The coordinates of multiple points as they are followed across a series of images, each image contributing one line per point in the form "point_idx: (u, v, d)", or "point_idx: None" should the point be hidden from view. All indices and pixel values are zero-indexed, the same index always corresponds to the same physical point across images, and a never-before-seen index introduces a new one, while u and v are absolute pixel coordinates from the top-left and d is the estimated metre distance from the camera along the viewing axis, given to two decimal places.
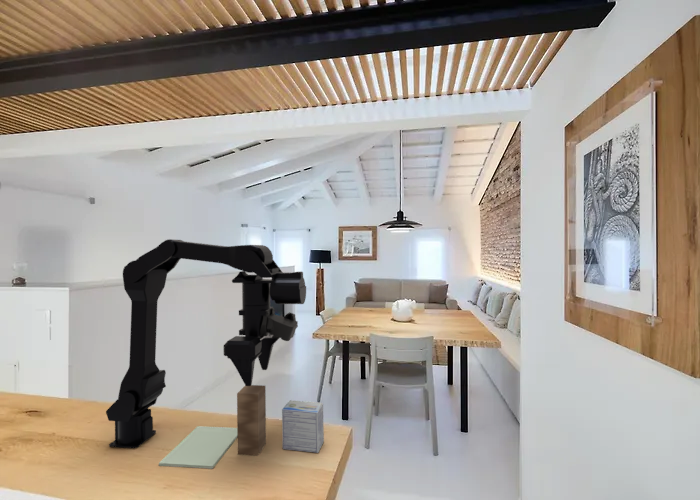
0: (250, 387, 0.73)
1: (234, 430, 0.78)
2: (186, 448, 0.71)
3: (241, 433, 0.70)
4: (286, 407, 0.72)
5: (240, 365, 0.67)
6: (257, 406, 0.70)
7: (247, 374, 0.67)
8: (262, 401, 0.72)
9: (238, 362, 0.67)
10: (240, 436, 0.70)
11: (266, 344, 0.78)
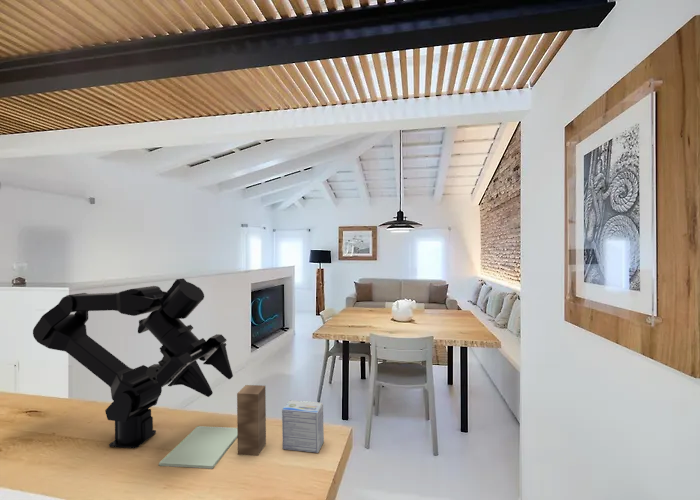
0: (250, 387, 0.73)
1: (234, 430, 0.78)
2: (186, 448, 0.71)
3: (241, 433, 0.70)
4: (286, 407, 0.72)
5: None
6: (257, 406, 0.70)
7: None
8: (262, 401, 0.72)
9: None
10: (240, 436, 0.70)
11: None
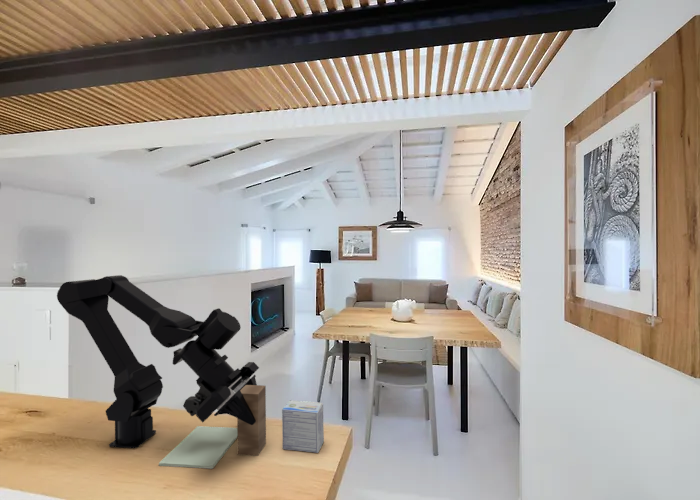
0: (250, 387, 0.73)
1: (234, 430, 0.78)
2: (186, 448, 0.71)
3: (242, 433, 0.70)
4: (286, 407, 0.72)
5: None
6: (257, 406, 0.70)
7: None
8: (262, 401, 0.72)
9: None
10: (240, 436, 0.70)
11: None
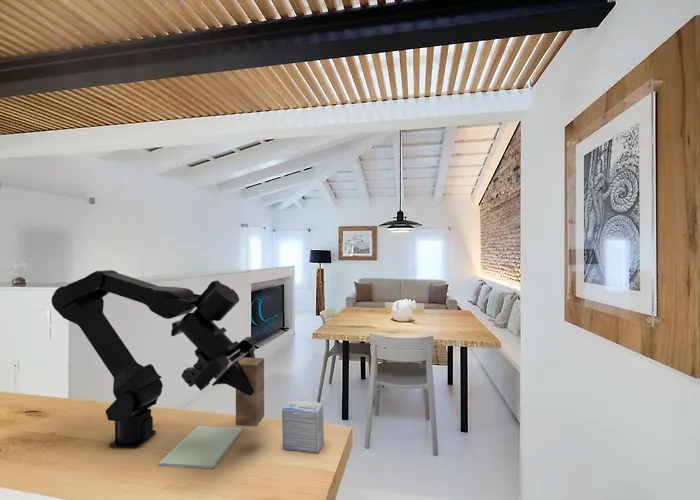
0: (249, 359, 0.73)
1: (234, 430, 0.78)
2: (186, 448, 0.71)
3: (240, 404, 0.70)
4: (286, 407, 0.72)
5: None
6: (255, 377, 0.70)
7: None
8: (260, 373, 0.72)
9: None
10: (239, 407, 0.70)
11: None
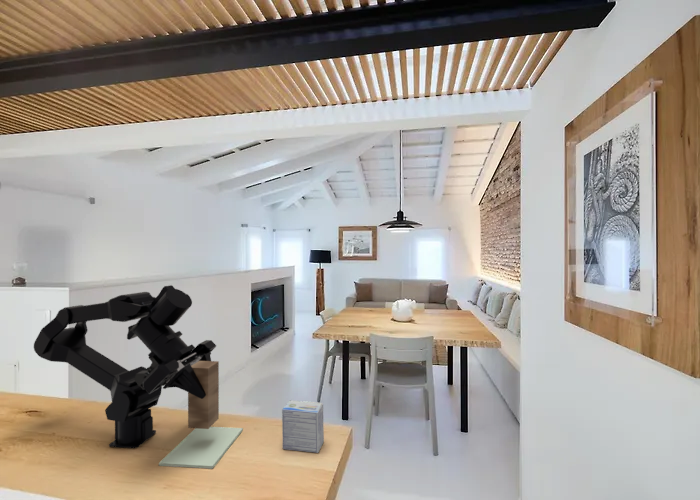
0: (203, 362, 0.74)
1: (234, 430, 0.78)
2: (186, 448, 0.71)
3: (192, 407, 0.71)
4: (286, 407, 0.72)
5: None
6: (207, 380, 0.71)
7: None
8: (214, 376, 0.73)
9: None
10: (191, 409, 0.71)
11: None
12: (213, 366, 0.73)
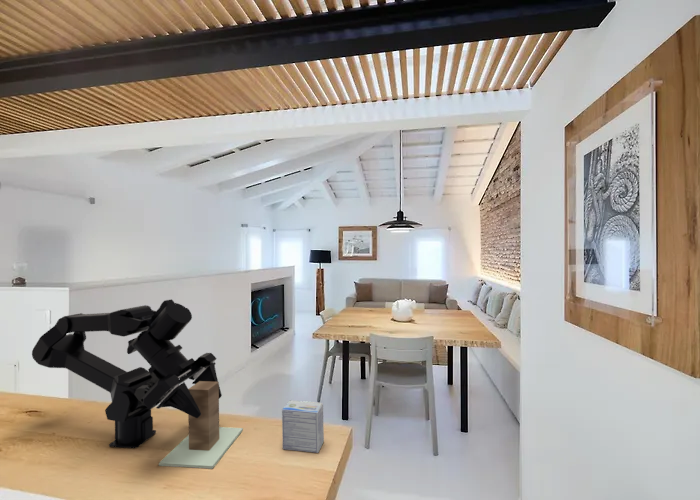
0: (203, 383, 0.74)
1: (234, 430, 0.78)
2: (186, 448, 0.71)
3: (192, 429, 0.71)
4: (286, 407, 0.72)
5: None
6: (207, 402, 0.71)
7: None
8: (214, 397, 0.73)
9: None
10: (191, 431, 0.71)
11: None
12: (213, 387, 0.73)
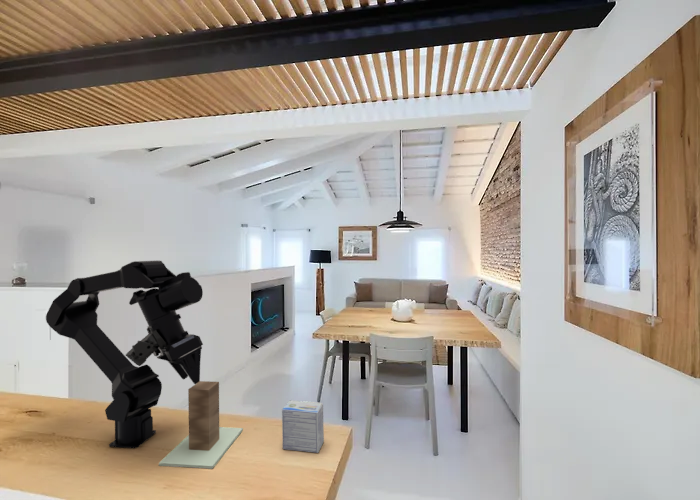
0: (203, 383, 0.74)
1: (234, 430, 0.78)
2: (186, 448, 0.71)
3: (193, 429, 0.71)
4: (286, 407, 0.72)
5: None
6: (208, 402, 0.71)
7: None
8: (214, 397, 0.73)
9: None
10: (192, 431, 0.71)
11: None
12: (213, 387, 0.73)
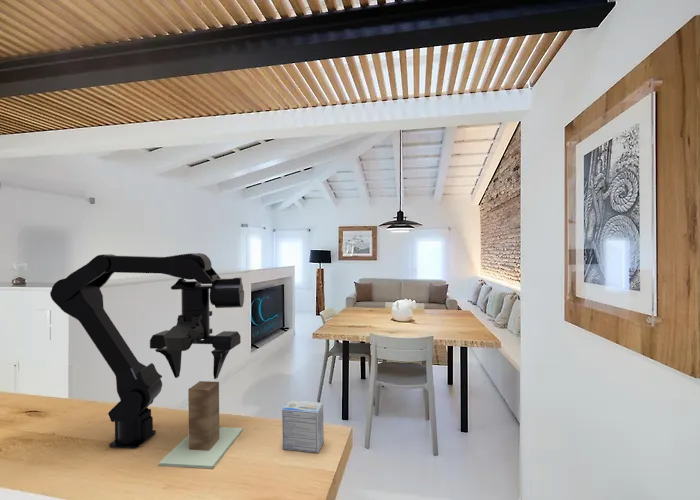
0: (203, 383, 0.74)
1: (234, 430, 0.78)
2: (186, 448, 0.71)
3: (193, 429, 0.71)
4: (286, 407, 0.72)
5: None
6: (208, 402, 0.71)
7: None
8: (214, 397, 0.73)
9: None
10: (192, 431, 0.71)
11: None
12: (213, 387, 0.73)
